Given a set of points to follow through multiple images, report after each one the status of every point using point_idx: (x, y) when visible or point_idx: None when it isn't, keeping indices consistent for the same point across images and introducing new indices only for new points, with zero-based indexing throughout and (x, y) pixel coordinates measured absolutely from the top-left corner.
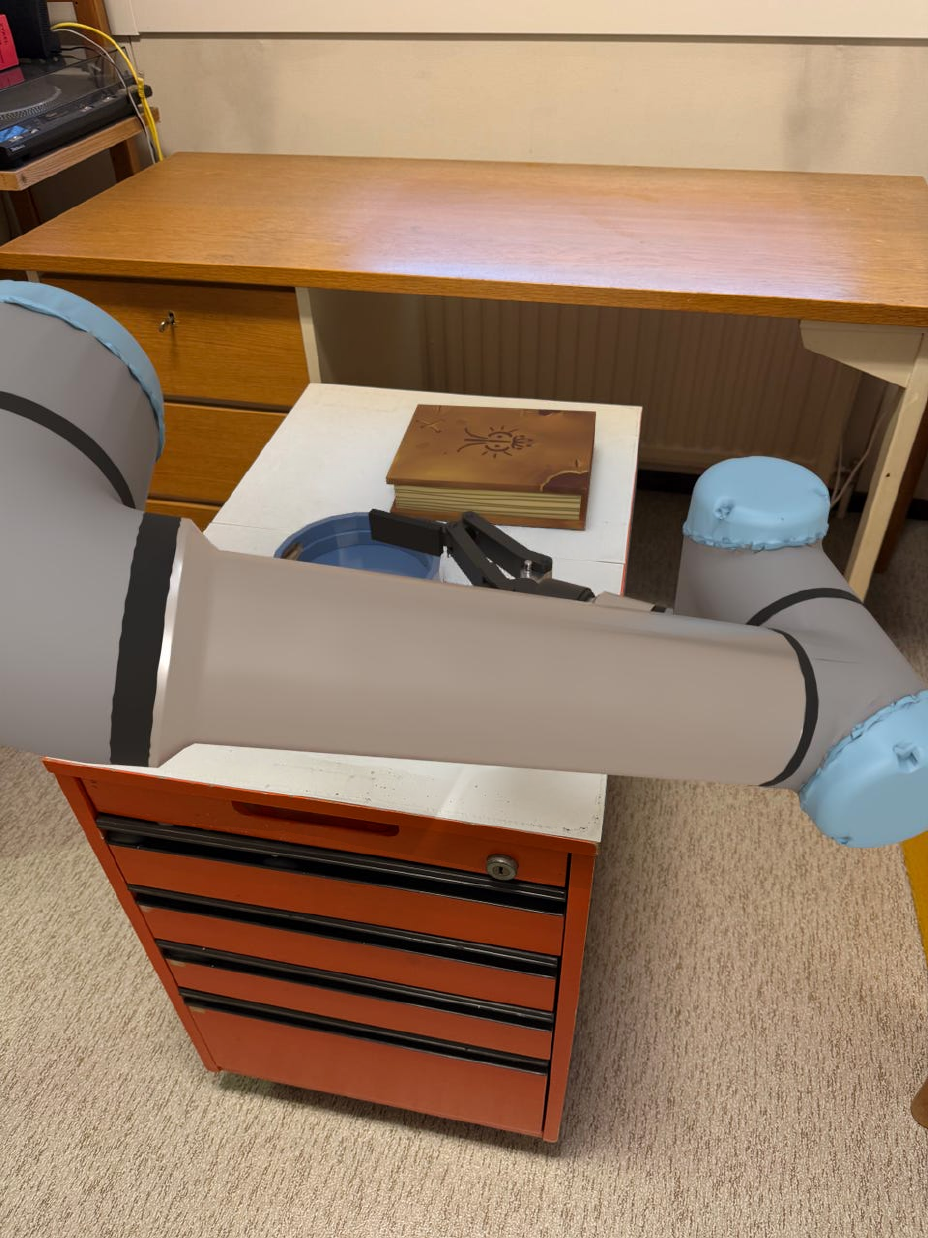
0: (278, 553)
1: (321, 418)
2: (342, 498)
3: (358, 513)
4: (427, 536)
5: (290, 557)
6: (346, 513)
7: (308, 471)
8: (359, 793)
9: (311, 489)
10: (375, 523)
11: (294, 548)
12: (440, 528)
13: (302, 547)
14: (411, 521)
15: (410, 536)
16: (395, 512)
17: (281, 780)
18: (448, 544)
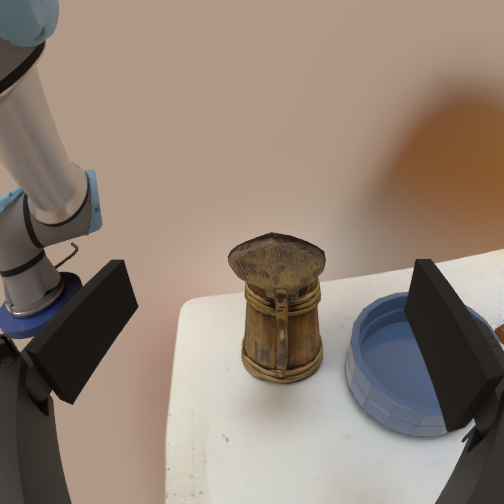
0: (394, 295)
1: (501, 259)
2: (478, 301)
3: (472, 311)
4: (462, 374)
5: (262, 244)
6: (465, 305)
7: (474, 276)
8: (172, 487)
9: (467, 285)
10: (416, 285)
11: (274, 236)
12: (496, 379)
13: (312, 255)
14: (462, 318)
15: (441, 348)
16: (498, 332)
17: (176, 422)
18: (481, 424)
